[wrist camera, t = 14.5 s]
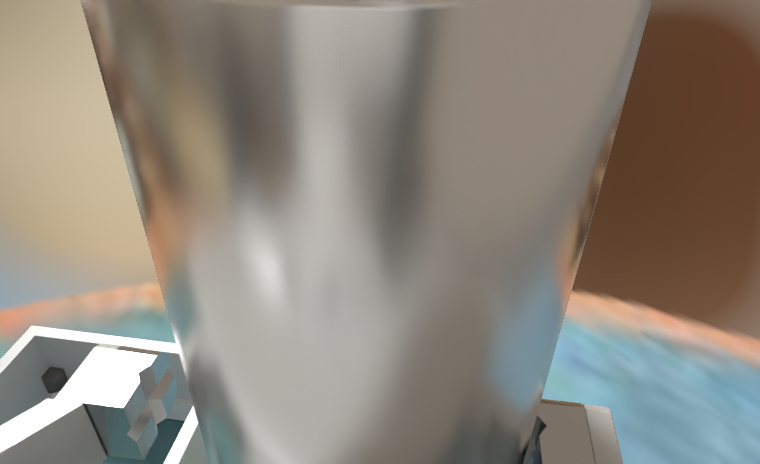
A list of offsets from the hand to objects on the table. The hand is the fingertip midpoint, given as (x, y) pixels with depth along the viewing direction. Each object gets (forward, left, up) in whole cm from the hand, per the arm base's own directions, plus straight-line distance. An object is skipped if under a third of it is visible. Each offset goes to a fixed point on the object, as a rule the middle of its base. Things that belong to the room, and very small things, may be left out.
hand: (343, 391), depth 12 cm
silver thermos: (-1, +1, -15) cm, 15 cm away
